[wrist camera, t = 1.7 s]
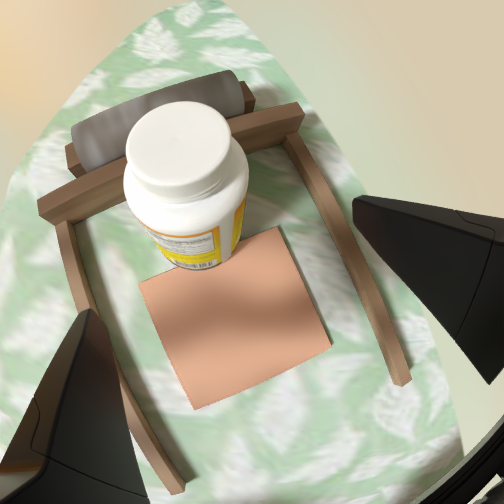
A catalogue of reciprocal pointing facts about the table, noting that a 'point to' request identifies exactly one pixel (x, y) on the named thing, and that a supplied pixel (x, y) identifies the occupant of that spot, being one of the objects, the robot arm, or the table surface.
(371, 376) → the table surface
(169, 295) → the frame
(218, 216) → the supplement bottle
